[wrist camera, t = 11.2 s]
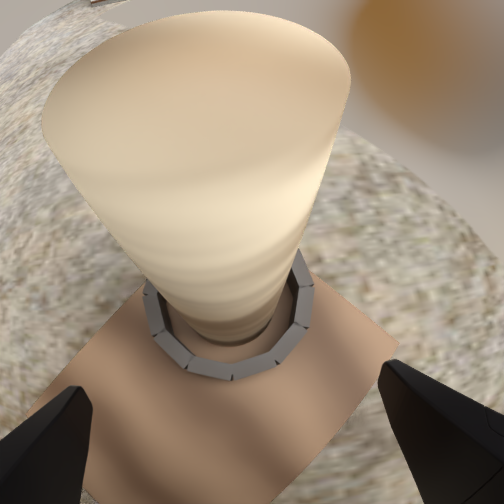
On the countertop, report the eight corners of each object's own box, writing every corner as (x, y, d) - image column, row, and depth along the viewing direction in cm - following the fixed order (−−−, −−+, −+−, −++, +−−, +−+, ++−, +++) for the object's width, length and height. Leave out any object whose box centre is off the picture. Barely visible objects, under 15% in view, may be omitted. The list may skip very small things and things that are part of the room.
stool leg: (264, 355, 15) (353, 213, 3) (175, 334, 16) (-10, 163, 3) (281, 270, 17) (345, 26, 5) (198, 253, 18) (133, 16, 5)
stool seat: (187, 553, 11) (176, 582, 7) (41, 413, 14) (6, 414, 11) (385, 347, 17) (416, 337, 14) (226, 220, 21) (223, 186, 17)
